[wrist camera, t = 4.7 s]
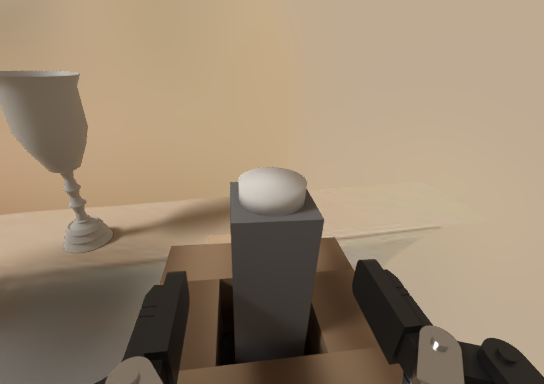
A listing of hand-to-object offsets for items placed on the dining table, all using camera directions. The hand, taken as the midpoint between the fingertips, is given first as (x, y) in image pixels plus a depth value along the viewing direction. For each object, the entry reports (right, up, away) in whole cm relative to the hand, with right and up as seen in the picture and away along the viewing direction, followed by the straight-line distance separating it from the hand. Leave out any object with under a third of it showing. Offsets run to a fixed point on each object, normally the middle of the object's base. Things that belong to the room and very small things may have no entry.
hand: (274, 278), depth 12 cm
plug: (-1, -9, +7) cm, 11 cm away
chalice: (-22, -2, +19) cm, 29 cm away
